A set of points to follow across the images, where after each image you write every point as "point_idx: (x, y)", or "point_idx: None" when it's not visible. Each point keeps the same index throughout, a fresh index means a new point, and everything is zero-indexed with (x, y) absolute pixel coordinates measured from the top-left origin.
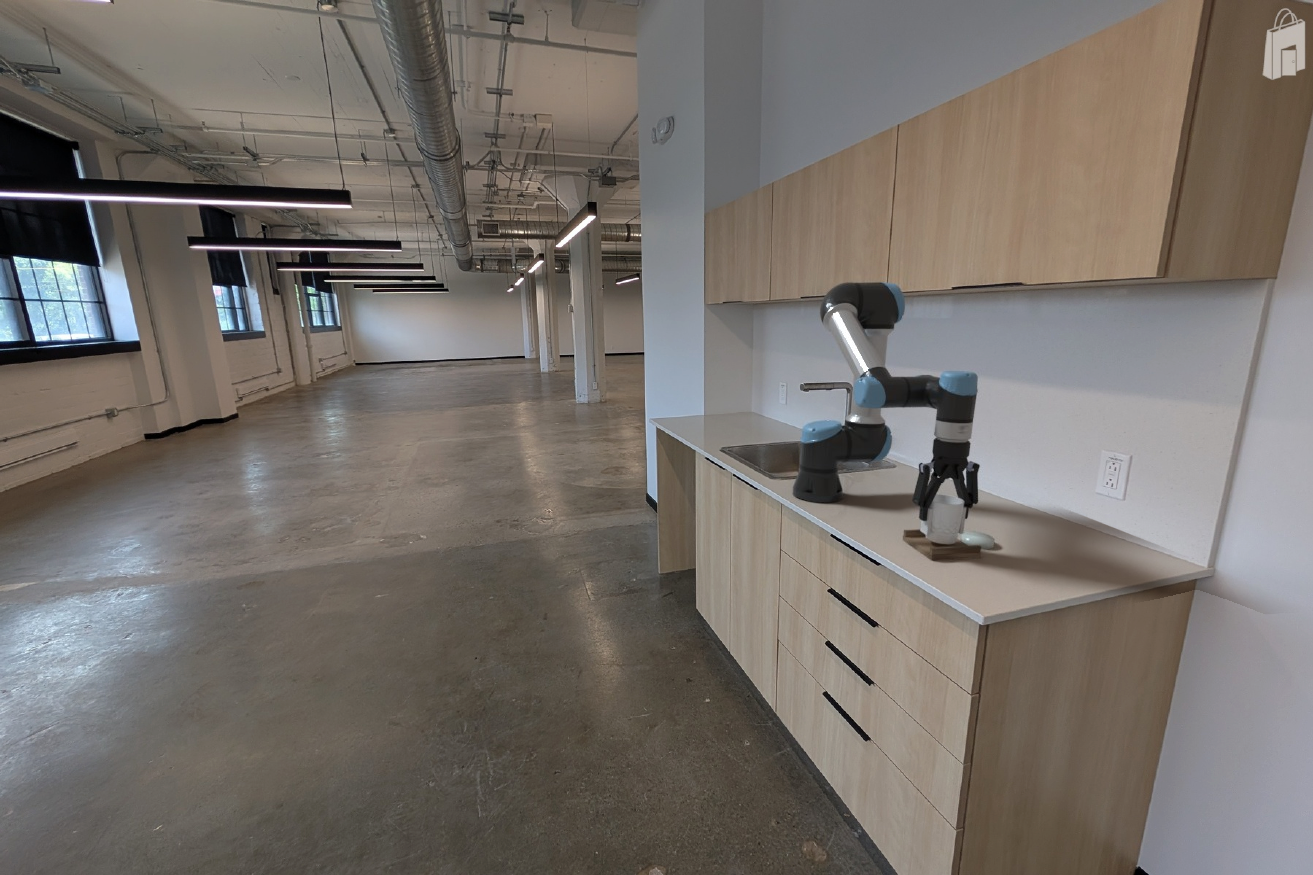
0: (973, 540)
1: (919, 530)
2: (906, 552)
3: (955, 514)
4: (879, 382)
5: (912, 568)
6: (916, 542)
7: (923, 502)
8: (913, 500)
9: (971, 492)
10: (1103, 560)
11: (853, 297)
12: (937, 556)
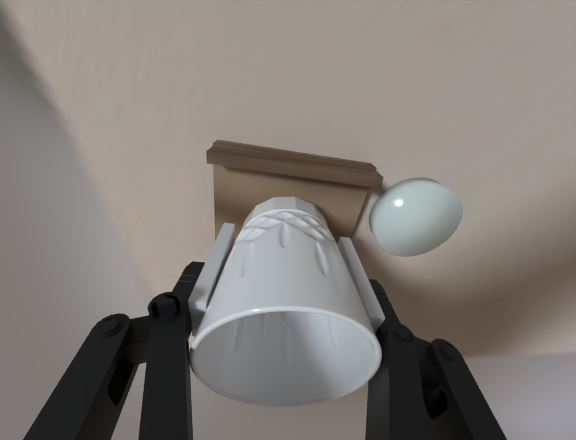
0: (379, 240)
1: (261, 170)
2: (182, 216)
3: (279, 356)
4: None
5: (157, 277)
6: (224, 202)
7: (146, 359)
8: (95, 337)
9: (436, 430)
10: (524, 317)
11: None
12: None
